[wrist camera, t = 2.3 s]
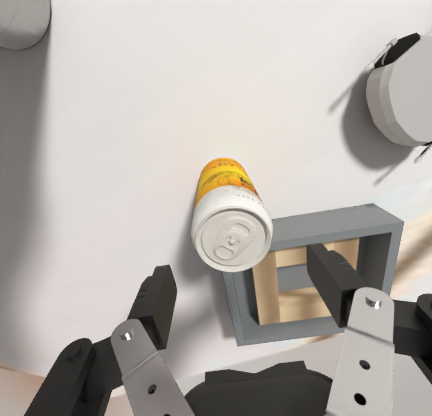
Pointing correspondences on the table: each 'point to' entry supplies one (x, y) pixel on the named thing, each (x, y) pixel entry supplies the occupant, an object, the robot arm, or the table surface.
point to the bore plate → (293, 299)
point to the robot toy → (403, 91)
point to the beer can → (229, 218)
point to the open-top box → (298, 275)
